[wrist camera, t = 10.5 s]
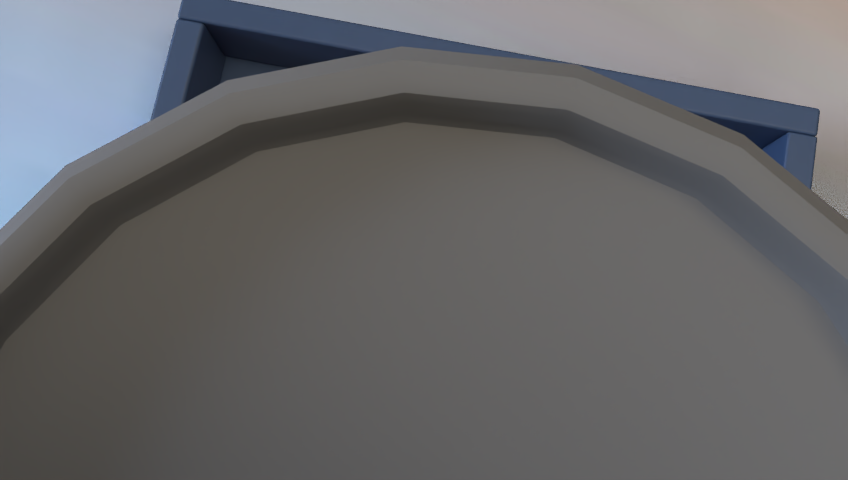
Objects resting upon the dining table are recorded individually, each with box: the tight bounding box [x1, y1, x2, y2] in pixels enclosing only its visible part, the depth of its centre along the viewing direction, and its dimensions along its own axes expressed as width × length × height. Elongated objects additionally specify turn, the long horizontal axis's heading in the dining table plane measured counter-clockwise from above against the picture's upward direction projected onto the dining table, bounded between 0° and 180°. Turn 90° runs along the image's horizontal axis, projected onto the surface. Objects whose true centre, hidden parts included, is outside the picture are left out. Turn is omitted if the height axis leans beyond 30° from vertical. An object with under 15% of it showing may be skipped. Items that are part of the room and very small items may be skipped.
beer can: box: [0, 46, 848, 480], centre depth 9 cm, size 7×7×12 cm
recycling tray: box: [150, 0, 820, 190], centre depth 15 cm, size 15×13×2 cm
